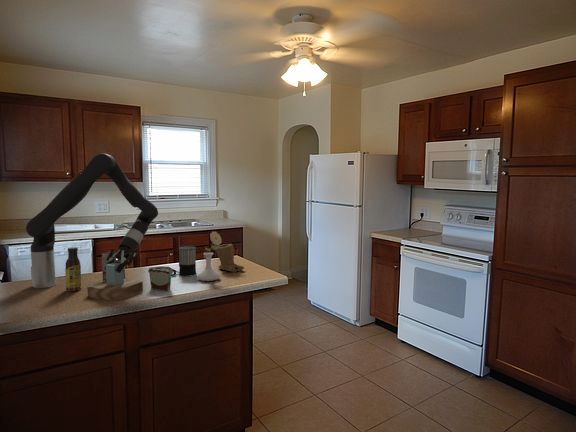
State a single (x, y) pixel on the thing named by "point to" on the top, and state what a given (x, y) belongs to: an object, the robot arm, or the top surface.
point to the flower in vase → (208, 272)
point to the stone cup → (227, 258)
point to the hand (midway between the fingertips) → (112, 270)
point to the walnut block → (115, 290)
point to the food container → (160, 278)
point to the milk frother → (186, 261)
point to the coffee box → (104, 263)
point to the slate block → (114, 274)
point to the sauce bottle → (73, 270)
